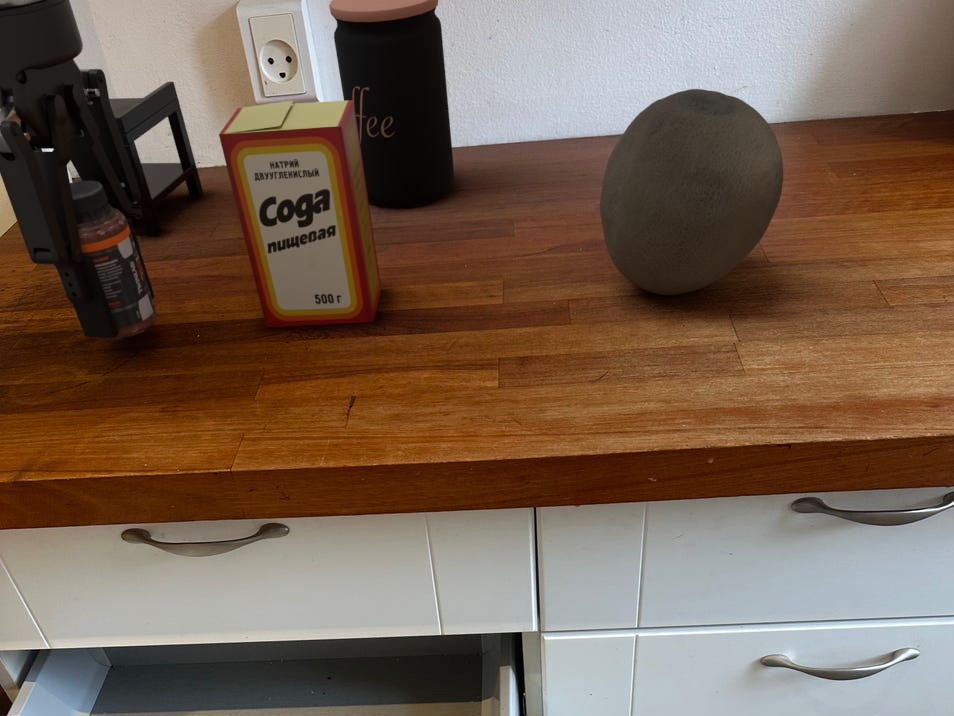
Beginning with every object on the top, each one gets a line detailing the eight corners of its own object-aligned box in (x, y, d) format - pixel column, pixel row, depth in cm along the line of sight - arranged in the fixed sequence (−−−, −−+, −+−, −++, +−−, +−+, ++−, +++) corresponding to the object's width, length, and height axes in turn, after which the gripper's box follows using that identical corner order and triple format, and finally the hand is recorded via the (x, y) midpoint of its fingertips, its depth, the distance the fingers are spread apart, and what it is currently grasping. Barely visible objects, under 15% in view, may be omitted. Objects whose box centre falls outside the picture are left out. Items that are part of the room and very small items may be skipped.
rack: (57, 235, 102) (12, 119, 94) (110, 193, 111) (73, 83, 103) (157, 236, 100) (120, 117, 92) (204, 194, 108) (173, 81, 100)
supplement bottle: (172, 322, 81) (129, 184, 73) (112, 349, 78) (60, 209, 70) (135, 303, 84) (90, 169, 76) (75, 329, 81) (22, 193, 74)
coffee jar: (344, 188, 106) (313, -2, 93) (430, 166, 109) (411, -21, 96) (381, 218, 99) (352, 17, 86) (472, 193, 102) (457, -4, 89)
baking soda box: (381, 288, 87) (352, 94, 76) (372, 321, 82) (340, 120, 71) (280, 294, 88) (236, 103, 76) (266, 327, 83) (217, 129, 72)
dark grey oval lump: (668, 340, 76) (682, 138, 66) (568, 281, 85) (566, 95, 75) (799, 290, 81) (833, 94, 70) (691, 239, 90) (706, 59, 79)
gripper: (-24, 30, 57) (107, 375, 74) (123, -37, 70) (206, 269, 87) (-129, 32, 59) (22, 370, 75) (34, -34, 72) (132, 267, 88)
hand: (120, 315), depth 81 cm, fingers closed on supplement bottle, 6 cm apart
